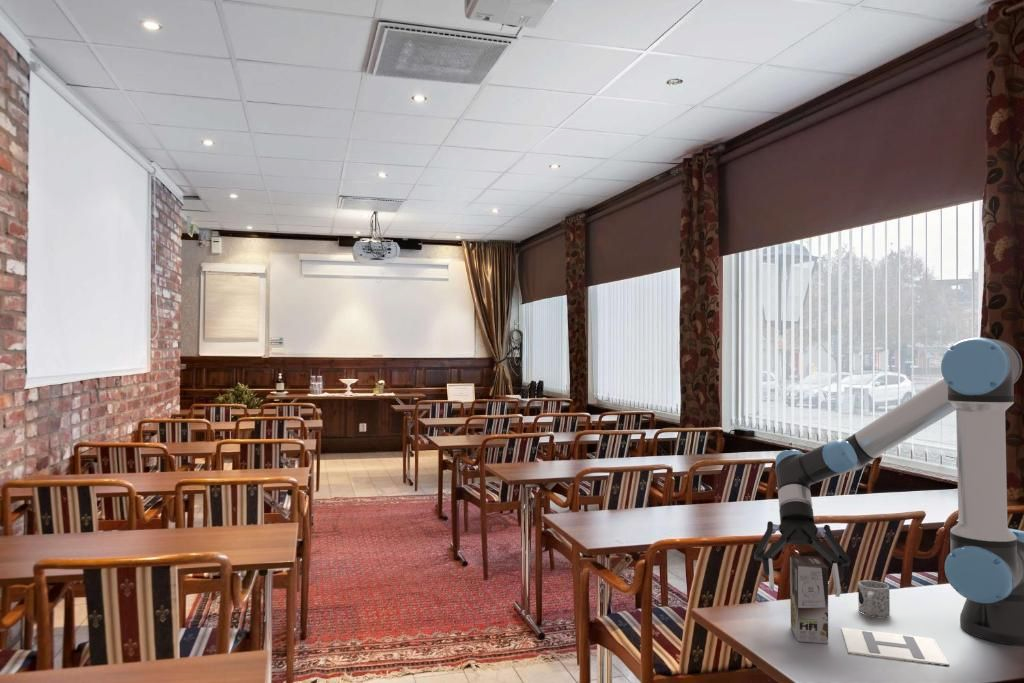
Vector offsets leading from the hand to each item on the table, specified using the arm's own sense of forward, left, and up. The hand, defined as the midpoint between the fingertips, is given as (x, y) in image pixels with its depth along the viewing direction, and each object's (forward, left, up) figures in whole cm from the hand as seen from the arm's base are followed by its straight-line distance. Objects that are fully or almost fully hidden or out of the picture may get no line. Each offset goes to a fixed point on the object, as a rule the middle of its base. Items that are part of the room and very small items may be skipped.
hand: (804, 591), depth 157 cm
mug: (-16, -19, -10) cm, 26 cm away
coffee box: (-1, 0, -10) cm, 10 cm away
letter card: (-17, +1, -9) cm, 19 cm away
